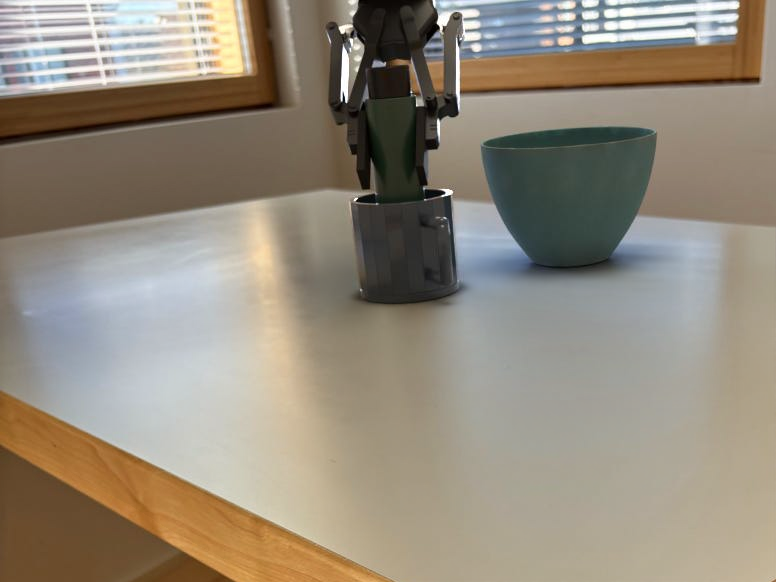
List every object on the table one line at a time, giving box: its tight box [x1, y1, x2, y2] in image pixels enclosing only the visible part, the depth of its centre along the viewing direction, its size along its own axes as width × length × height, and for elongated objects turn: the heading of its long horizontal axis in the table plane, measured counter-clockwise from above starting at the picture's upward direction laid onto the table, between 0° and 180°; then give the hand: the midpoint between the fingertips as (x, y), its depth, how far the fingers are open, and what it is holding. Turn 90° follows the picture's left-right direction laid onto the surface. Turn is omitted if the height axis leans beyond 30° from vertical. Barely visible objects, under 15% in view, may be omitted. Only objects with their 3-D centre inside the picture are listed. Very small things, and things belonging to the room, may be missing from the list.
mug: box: [348, 187, 460, 304], centre depth 101 cm, size 14×10×9 cm
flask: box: [365, 64, 425, 204], centre depth 98 cm, size 5×5×13 cm
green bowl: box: [479, 125, 658, 268], centre depth 110 cm, size 18×18×12 cm
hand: (392, 177), depth 96 cm, fingers closed on flask, 5 cm apart
